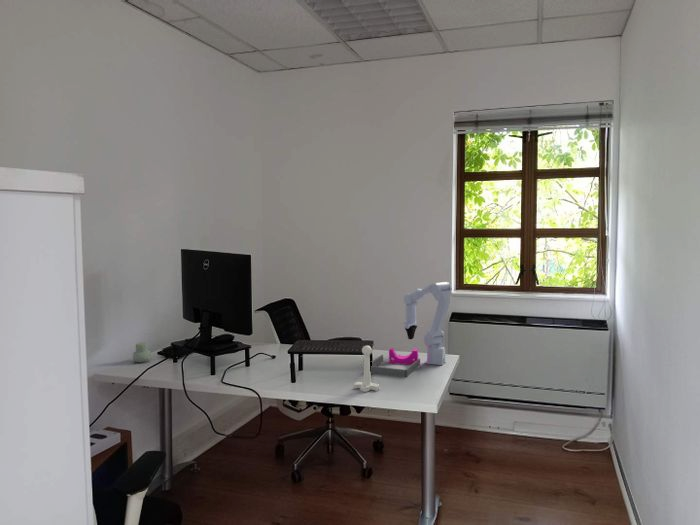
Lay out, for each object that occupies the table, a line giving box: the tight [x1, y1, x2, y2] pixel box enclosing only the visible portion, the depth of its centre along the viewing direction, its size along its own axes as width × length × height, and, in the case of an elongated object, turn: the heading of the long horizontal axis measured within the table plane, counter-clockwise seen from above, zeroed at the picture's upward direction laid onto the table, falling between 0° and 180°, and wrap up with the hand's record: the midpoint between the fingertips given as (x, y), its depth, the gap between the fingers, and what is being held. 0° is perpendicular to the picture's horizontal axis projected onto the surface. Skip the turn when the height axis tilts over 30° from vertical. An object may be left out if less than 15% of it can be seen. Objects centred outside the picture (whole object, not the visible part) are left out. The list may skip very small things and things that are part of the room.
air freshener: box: [132, 342, 152, 363], centre depth 294 cm, size 11×8×10 cm
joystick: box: [353, 345, 380, 393], centre depth 241 cm, size 11×8×20 cm
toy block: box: [388, 347, 419, 365], centre depth 286 cm, size 15×6×8 cm, turn 77°
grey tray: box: [371, 354, 421, 378], centre depth 274 cm, size 22×23×4 cm
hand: (410, 338), depth 300 cm, fingers closed
